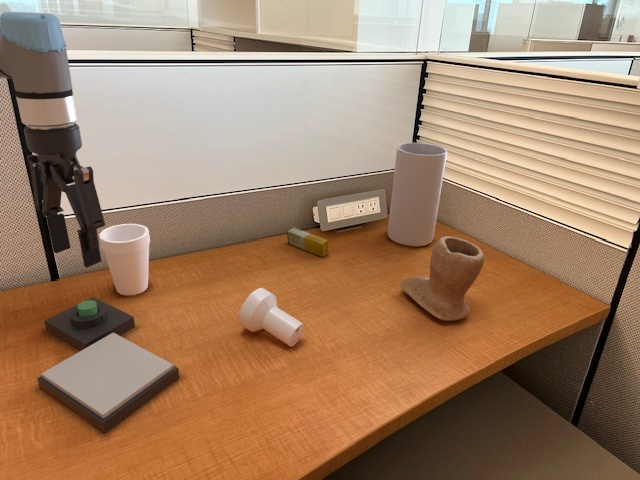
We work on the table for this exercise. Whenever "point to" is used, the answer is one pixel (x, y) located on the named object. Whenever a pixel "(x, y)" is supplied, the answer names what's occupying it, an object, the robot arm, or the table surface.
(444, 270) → the stone cup
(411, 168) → the cylinder vase
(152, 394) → the scale
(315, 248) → the medication box
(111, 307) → the dark grey button base
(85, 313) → the button
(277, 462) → the table surface
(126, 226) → the foam cup
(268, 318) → the spotlight
